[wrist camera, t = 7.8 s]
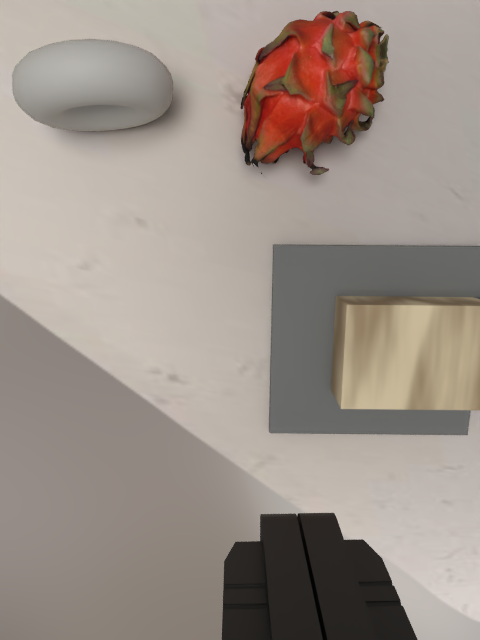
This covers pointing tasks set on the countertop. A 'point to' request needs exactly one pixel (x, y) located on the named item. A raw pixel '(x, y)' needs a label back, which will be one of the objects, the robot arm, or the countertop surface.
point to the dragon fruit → (313, 86)
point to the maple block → (406, 353)
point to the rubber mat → (318, 329)
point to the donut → (92, 85)
